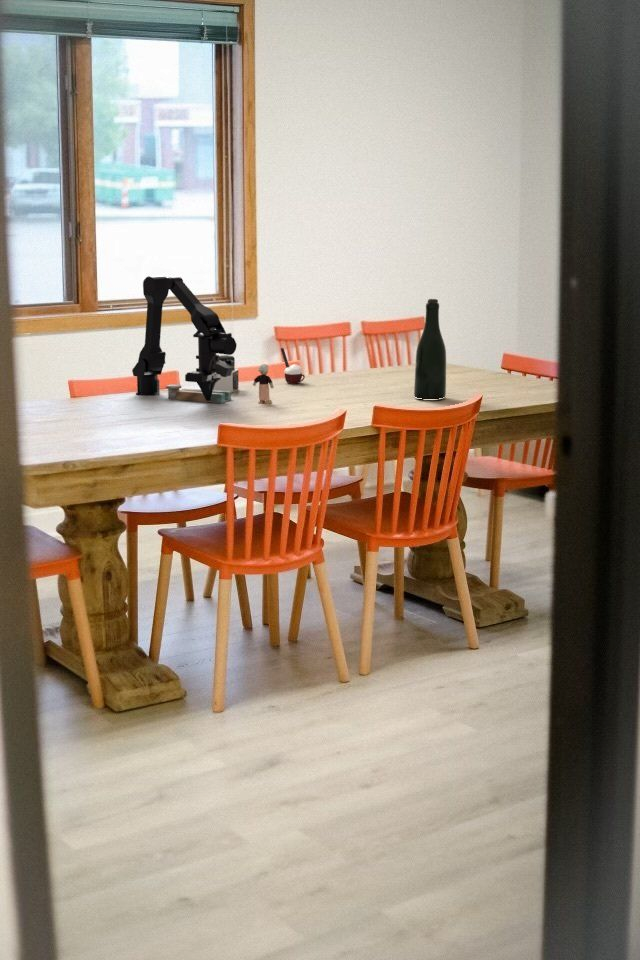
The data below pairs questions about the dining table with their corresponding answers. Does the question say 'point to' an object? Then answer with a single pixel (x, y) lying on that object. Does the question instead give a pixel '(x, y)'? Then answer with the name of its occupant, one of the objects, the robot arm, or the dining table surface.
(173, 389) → the base
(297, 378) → the cocoa
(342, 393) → the dining table surface
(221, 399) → the tong leg
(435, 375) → the dark wine bottle
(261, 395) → the grandmother figurine
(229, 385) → the medicine bottle
